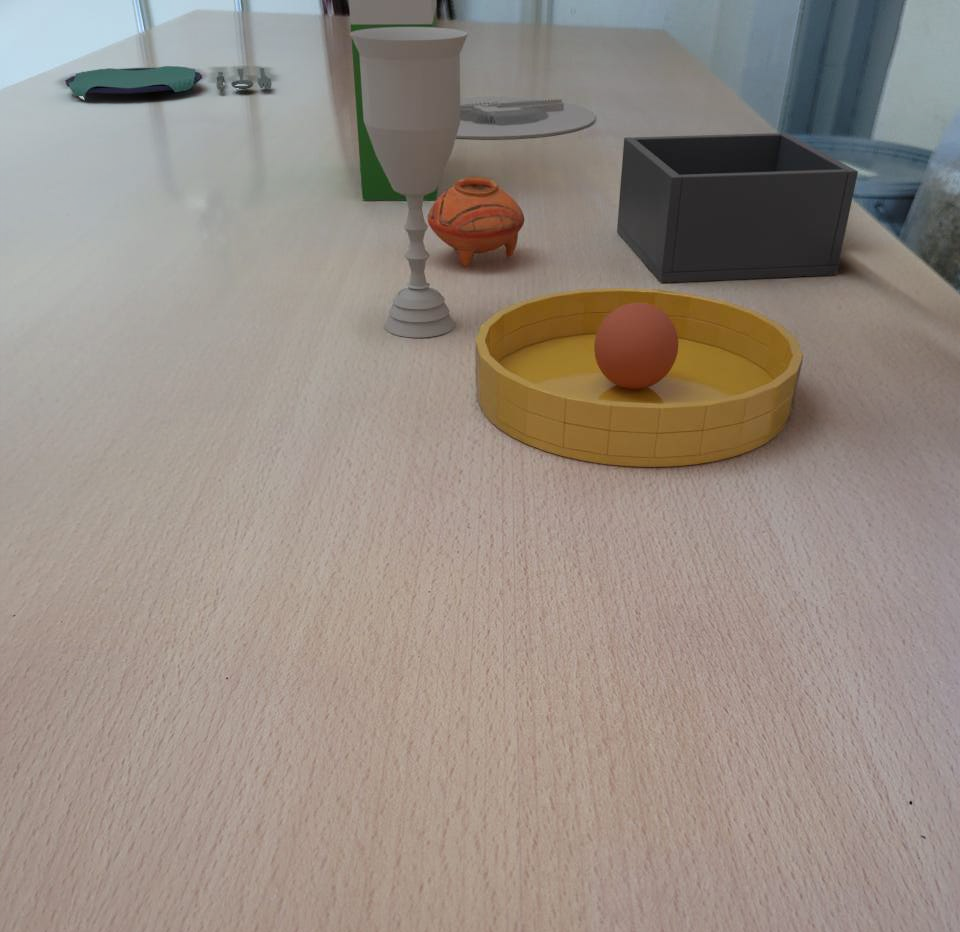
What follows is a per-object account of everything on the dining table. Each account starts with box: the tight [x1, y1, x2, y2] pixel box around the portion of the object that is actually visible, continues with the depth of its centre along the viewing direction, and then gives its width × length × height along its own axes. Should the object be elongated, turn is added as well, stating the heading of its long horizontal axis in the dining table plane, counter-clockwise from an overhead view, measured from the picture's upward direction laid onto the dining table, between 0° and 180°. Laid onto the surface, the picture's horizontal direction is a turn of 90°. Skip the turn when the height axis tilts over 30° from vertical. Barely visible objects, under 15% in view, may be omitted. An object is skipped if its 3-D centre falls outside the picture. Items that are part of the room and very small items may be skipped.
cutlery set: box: [64, 65, 273, 98], centre depth 151 cm, size 20×30×2 cm, turn 102°
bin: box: [616, 132, 859, 284], centre depth 83 cm, size 15×15×8 cm
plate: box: [456, 96, 596, 140], centre depth 134 cm, size 28×28×1 cm
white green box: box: [348, 0, 439, 201], centre depth 99 cm, size 18×7×24 cm, turn 1°
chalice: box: [349, 27, 469, 339], centre depth 66 cm, size 7×7×18 cm
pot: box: [427, 176, 525, 268], centre depth 83 cm, size 8×8×7 cm
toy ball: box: [594, 303, 678, 389], centre depth 60 cm, size 5×5×5 cm
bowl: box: [474, 287, 804, 468], centre depth 61 cm, size 19×19×4 cm
